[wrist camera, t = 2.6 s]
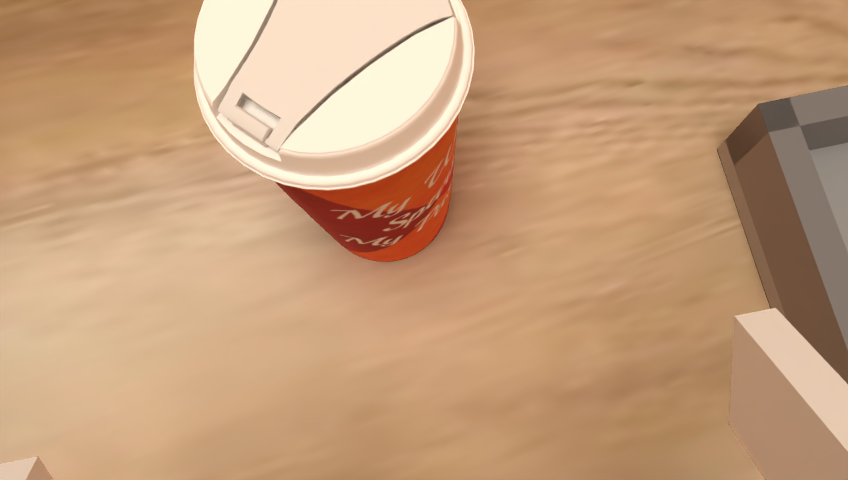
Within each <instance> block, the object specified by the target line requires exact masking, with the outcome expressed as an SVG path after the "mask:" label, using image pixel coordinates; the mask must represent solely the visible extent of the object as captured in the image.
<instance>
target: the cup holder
mask: <svg viewBox="0 0 848 480" xmlns="http://www.w3.org/2000/svg"><path fill="white" fill-rule="evenodd" d="M717 151H718V154H719V157H720V160H721V163H722V166H723V169H724V172H725V174H726V177H727V180H728V183H729V186H730V189H731V192H732V195H733V198H734V201H735V204H736V207H737V210H738V213H739V216H740V219H741V222H742V225H743V228H744V231H745V234H746V237H747V240H748V242H749V245H750V248H751V251H752V254H753V257H754V260H755V263H756V266H757V269H758V272H759V275H760V278H761V281H762V284H763V287H764V290H765V293H766V296H767V299H768V302H769V305H770V308H771V309H772V308H776V309H777V310H778V311H779V312H780V313H781V314H782V315H783V316H784V317H785V318H786V319H787V320H788V321H789V322H790V323H791V325H792V326H793V327H794V328H795V329H796V330H797V331H798V332H799V333H800V334H801V335H802V336H803V337H804V338H805V339H806V340H807V341H808V343H809V344H810V345H811V346H812V347H813V348H814V349H815V350H816V351H817V352H818V353H819V354H820V355H821V356H822V357H823V358H824V360H825V361H826V362H827V363H828V364H829V365H830V366H831V367H832V368H833V369H834V370H835V371H836V372H837V373H838V374H839V375H840V376H841V378H842V379H843V380H844V381H845V382H846V383H847V384H848V85H847V86H842V87H838V88H833V89H828V90H823V91H818V92H813V93H809V94H804V95H799V96H794V97H789V98H785V99H780V100H775V101H770V102H765V103H761V104H758V105H757V106H756V107H755V108H754V109H753V110H752V112H751V113H750V114H749V115H748V116H747V117H746V118H745V119H744V120H743V121H742V123H741V124H740V125H739V126H738V127H737V128H736V129H735V130H734V131H733V133H732V134H731V135H730V136H729V137H728V138H727V139H726V140H725V141H724V143H723V144H722V145H721V146H720V147H719V148H718V149H717Z"/></svg>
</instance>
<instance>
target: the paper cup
mask: <svg viewBox="0 0 848 480" xmlns="http://www.w3.org/2000/svg"><path fill="white" fill-rule="evenodd" d="M474 51H475V50H474V41H473V33H472V28H471V25H470V21H469V18H468V15H467V12H466V10H465V8H464V6H463V4H462V2H461V0H204V2H203V5H202V8H201V11H200V13H199V16H198V19H197V25H196V30H195V36H194V84H195V90H196V95H197V101H198V104H199V106H200V109H201V112H202V115H203V117H204V120H205V121H206V123H207V125H208V127H209V128H210V130H211V132H212V133H213V135H214V137H215V138H216V139H217V140H218V141H219V143H220V144H221V145H222V146H223V147H224V149H225V150H226V151H227V152H228V153H229V154H230V155H231V156H233V157H234V158H235V159H236V160H237V161H239V162H240V163H241V164H242V165H243V166H245V167H246V168H248V169H250V170H252V171H253V172H255V173H257V174H259V175H260V176H262V177H264V178H267V179H269V180H272V181H275V182H276V183H277V184H278V185H279V186H280V187H281V188H282V189H283V190H284V191H285V192H286V193H287V194H288V195H289V196H290V197H291V198H292V199H293V200H294V201H295V202H296V203H297V204H298V205H299V206H300V207H301V208H302V209H303V210H305V211H306V212H307V213H308V214H309V215H310V216H311V217H312V218H313V219H314V220H315V221H316V222H317V223H318V224H319V225H320V226H321V227H322V228H323V229H325V230H326V231H327V232H328V233H329V234H330V235H331V236H332V237H333V238H334V239H335V240H337V241H338V242H339V243H340V244H341V245H342V246H344V247H345V248H346V249H348V250H349V251H351V252H353V253H354V254H356V255H358V256H360V257H363V258H366V259H370V260H374V261H396V260H401V259H404V258H407V257H410V256H412V255H414V254H416V253H418V252H419V251H421V250H422V249H424V248H425V247H426V246H427V245H428V244H430V243H431V241H432V240H433V239H434V238H435V237H436V235H437V234H438V233H439V231H440V229H441V228H442V226H443V223H444V221H445V218H446V215H447V211H448V206H449V200H450V193H451V184H452V175H453V164H454V154H455V143H456V132H457V121H458V114H459V112H460V111H461V108H462V106H463V104H464V101H465V99H466V97H467V94H468V92H469V88H470V84H471V79H472V75H473V69H474Z"/></svg>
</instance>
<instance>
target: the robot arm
mask: <svg viewBox="0 0 848 480" xmlns="http://www.w3.org/2000/svg"><path fill="white" fill-rule="evenodd" d="M729 426H730V427H731V429H732V430H733V432H734V433H735V435H736V436H737V438H738V439H739V441H740V442H741V444H742V445H743V447H744V448H745V450H746V451H747V453H748V454H749V456H750V457H751V459H752V460H753V462H754V463H755V465H756V466H757V468H758V469H759V471H760V472H761V474H762V475H763V477H764V478H765V480H848V384H847V383H846V382H845V381H844V380H843V379H842V378H841V376H840V375H839V374H838V373H837V372H836V371H835V370H834V369H833V368H832V367H831V366H830V365H829V364H828V363H827V362H826V361H825V360H824V358H823V357H822V356H821V355H820V354H819V353H818V352H817V351H816V350H815V349H814V348H813V347H812V346H811V345H810V344H809V343H808V341H807V340H806V339H805V338H804V337H803V336H802V335H801V334H800V333H799V332H798V331H797V330H796V329H795V328H794V327H793V326H792V325H791V323H790V322H789V321H788V320H787V319H786V318H785V317H784V316H783V315H782V314H781V313H780V312H779V311H778V310H777V309H776V308H772V309H767V310H762V311H757V312H752V313H747V314H742V315H737V316H734V334H733V353H732V371H731V390H730V408H729ZM0 480H53V478H52V477H51V475H50V474H49V472H48V470H47V469H46V467H45V466H44V464H43V463H42V461H41V460H40V458H39V457H38V456H37V457H32V458H27V459H22V460H17V461H12V462H7V463H2V464H0Z"/></svg>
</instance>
